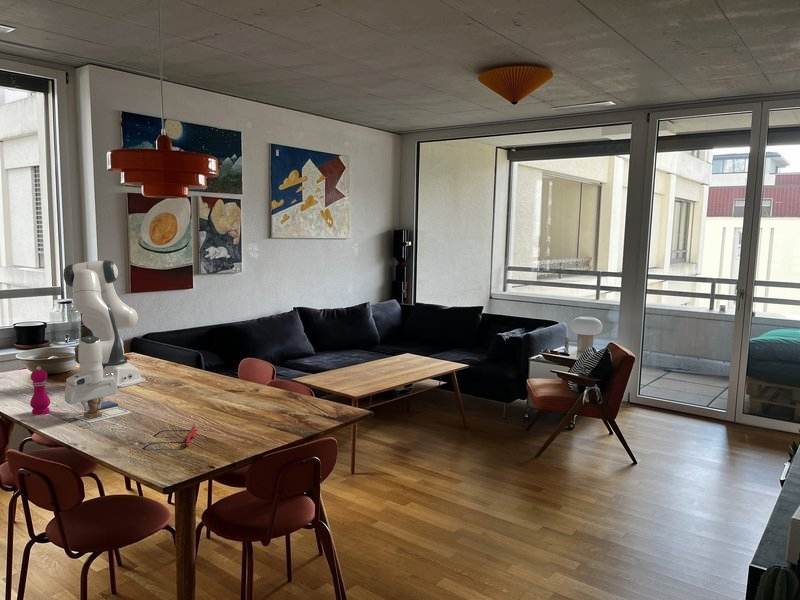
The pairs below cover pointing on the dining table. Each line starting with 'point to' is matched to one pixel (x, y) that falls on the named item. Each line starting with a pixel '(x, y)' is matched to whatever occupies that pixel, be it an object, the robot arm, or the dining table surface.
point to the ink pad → (107, 405)
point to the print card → (105, 414)
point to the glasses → (179, 442)
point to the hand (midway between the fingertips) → (92, 409)
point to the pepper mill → (39, 392)
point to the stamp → (92, 410)
